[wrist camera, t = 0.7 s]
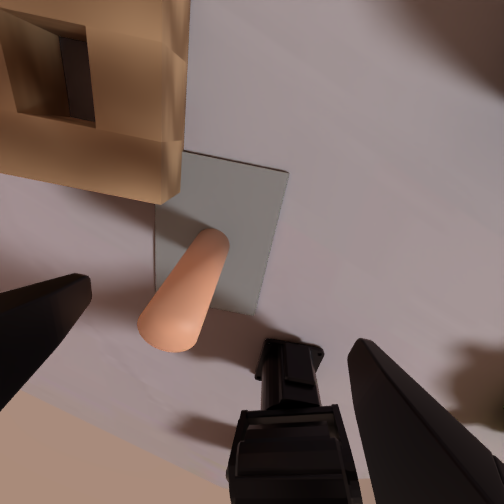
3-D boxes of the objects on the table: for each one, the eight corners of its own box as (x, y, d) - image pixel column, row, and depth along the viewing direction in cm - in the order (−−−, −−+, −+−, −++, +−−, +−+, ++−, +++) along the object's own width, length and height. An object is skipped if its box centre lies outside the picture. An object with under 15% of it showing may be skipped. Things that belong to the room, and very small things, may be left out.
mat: (254, 313, 24) (253, 316, 24) (156, 295, 24) (155, 297, 23) (289, 172, 18) (289, 173, 17) (156, 145, 17) (154, 146, 17)
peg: (227, 262, 21) (195, 357, 12) (194, 256, 21) (138, 346, 12) (231, 232, 20) (200, 313, 11) (196, 225, 20) (136, 301, 11)
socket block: (181, 191, 19) (160, 205, 15) (30, 161, 19) (-26, 167, 15) (191, -19, 13) (162, -73, 10) (-22, -66, 13) (-132, -140, 10)
